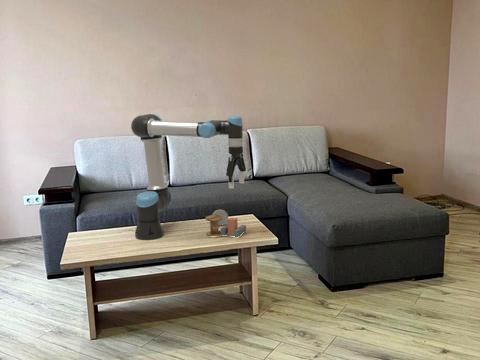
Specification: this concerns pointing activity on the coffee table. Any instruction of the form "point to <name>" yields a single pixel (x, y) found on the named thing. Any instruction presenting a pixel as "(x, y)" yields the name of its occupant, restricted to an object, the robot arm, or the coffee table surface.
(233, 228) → the salmon pink block
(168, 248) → the coffee table surface
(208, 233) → the spool
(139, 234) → the robot arm
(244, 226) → the notched board
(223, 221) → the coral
